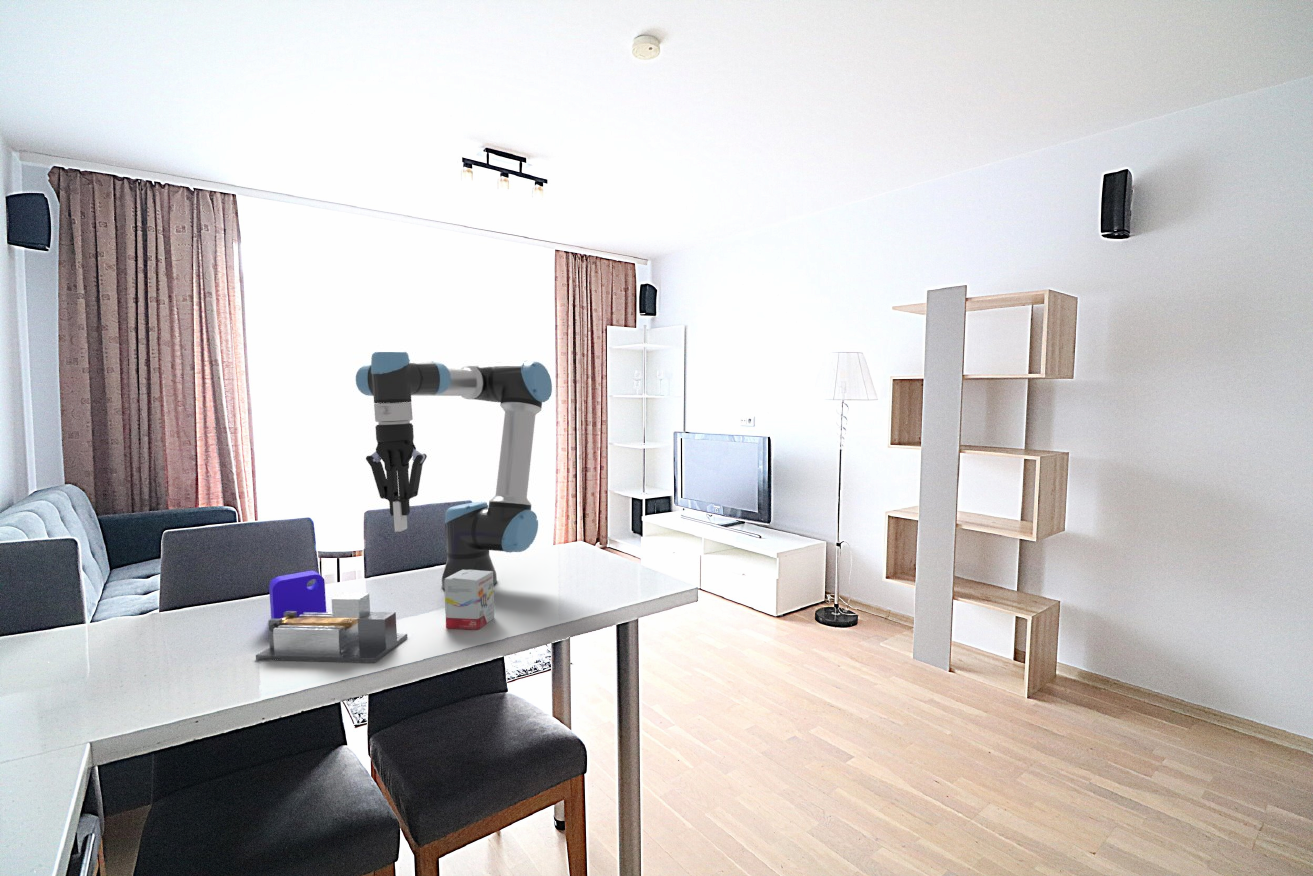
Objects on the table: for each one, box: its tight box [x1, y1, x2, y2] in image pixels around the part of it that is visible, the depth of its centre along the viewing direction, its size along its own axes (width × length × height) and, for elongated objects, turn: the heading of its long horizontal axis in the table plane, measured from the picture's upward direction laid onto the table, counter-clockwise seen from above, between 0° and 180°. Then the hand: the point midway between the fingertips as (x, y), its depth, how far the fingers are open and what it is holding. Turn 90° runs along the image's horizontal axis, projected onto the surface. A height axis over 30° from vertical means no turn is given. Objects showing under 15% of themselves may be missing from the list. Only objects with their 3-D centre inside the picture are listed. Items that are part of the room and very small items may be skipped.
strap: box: [280, 616, 358, 627], centre depth 133 cm, size 3×18×2 cm, turn 84°
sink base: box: [255, 611, 408, 664], centre depth 132 cm, size 13×26×7 cm, turn 84°
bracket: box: [268, 570, 327, 619], centre depth 154 cm, size 18×11×12 cm, turn 40°
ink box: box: [444, 570, 495, 631], centre depth 146 cm, size 9×9×12 cm
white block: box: [331, 592, 371, 618], centre depth 132 cm, size 4×6×4 cm, turn 84°
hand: (401, 529), depth 136 cm, fingers closed
